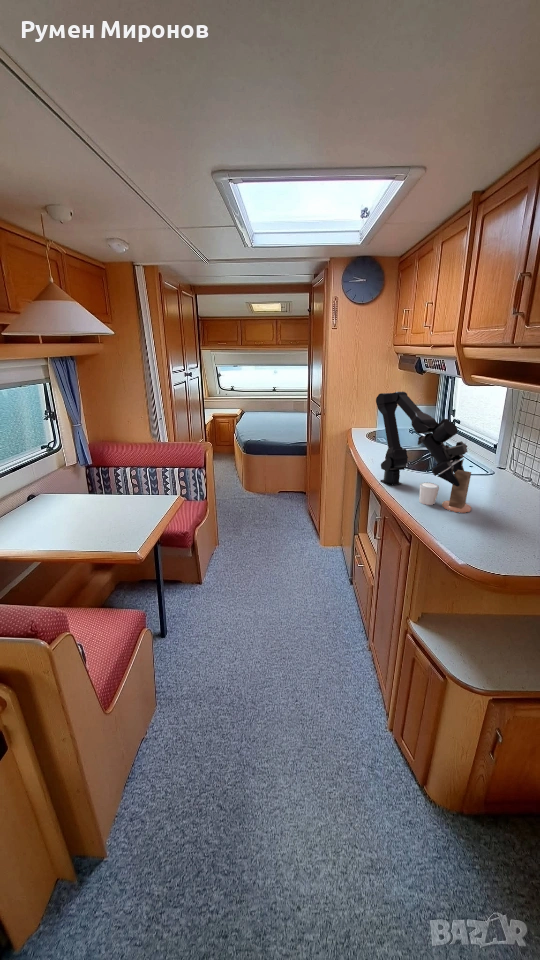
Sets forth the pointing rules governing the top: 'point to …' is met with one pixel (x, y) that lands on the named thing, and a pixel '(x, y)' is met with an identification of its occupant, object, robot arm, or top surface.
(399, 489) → the top surface
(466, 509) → the orange flat disc
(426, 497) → the white short cylinder
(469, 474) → the walnut block
